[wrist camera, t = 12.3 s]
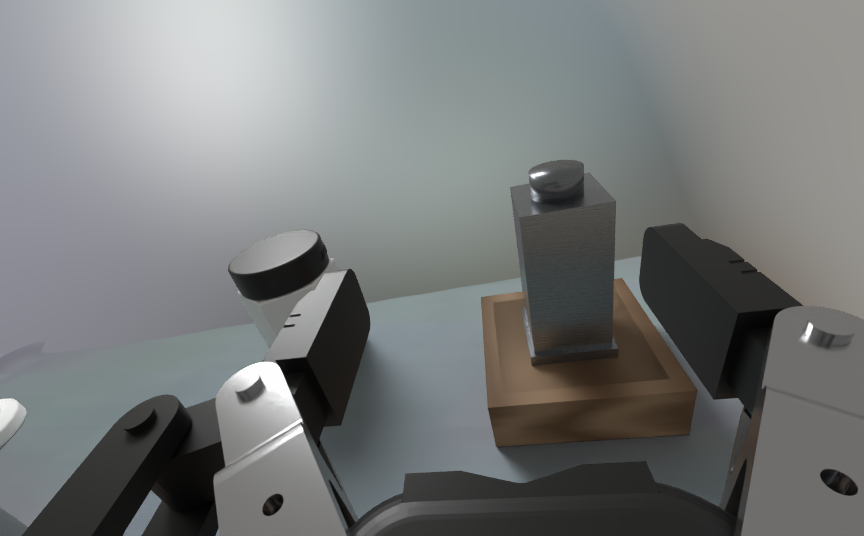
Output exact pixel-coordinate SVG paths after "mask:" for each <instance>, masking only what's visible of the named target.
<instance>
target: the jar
mask: <svg viewBox="0 0 864 536" xmlns="http://www.w3.org/2000/svg"><path fill="white" fill-rule="evenodd" d="M228 271H229V274H230V275H231V277H232V279H233V281H234V282H235V284H236V286H237V288H238V289H239V291H238V295H239V297H240V299H241V301H242V302H243V304H244V306H245V307H246V309H247V311H248V313H249V314H250V316H251V318H252V320H253V321H254V323H255V325H256V327H257V328H258V330H259V332H260V333H261V335H262V337H263V339H264V340H265V342H266V344H267V346H268V347H269V349H270V347H271V346H272V344H273V342H274V341H275V339H276V337H277V336H278V334H279V332H280V331H281V329H282V328H284V324H285V322H286V321H287V319H288V318H289V317H290V314H291V313H292V311H293V309H294V308H295V306H296V304H297V303H298V302H299V301H300V300H301V299H302V298H303V297H304V296H306V295H307V294H308V293H309V292H310V291H315V289H316V287H317V285H318V284H319V282H320V280H321V278H322V277H323V275H324V274H325V273H326V272H332V271H339V269H338V267H337V264H336V262H335V260H334V259H333V258H329V257H328V255H327V250H326V247H325V245H324V243H323V242H322V240H321V237H320V235H319V234H318V233H317V232H315V231H311V230H296V231H290V232H286V233H282V234H279V235H275V236H273V237H270V238H267V239H265V240H262V241H260V242H258V243H256V244H254V245H252V246H251V247H249V248H247V249H245V250H244V251H242V252H241V253H240V254H238V255H237V256H236V257H235V258H234V259H233V260H232V261H231V263H230V264H229V267H228Z"/></svg>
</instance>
